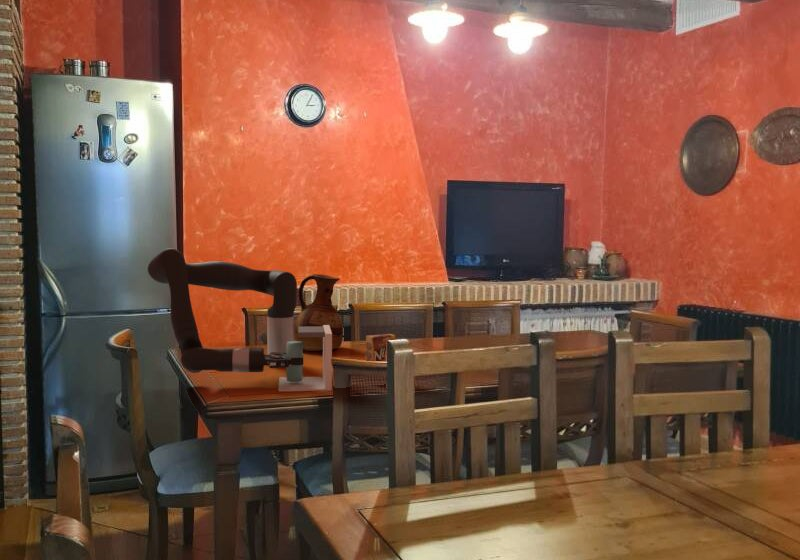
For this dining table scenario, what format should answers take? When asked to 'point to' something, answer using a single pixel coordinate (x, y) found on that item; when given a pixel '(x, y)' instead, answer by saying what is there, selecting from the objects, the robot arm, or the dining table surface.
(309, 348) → the ceramic pitcher
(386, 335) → the candy box
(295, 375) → the post
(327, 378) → the stand
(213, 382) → the dining table surface
